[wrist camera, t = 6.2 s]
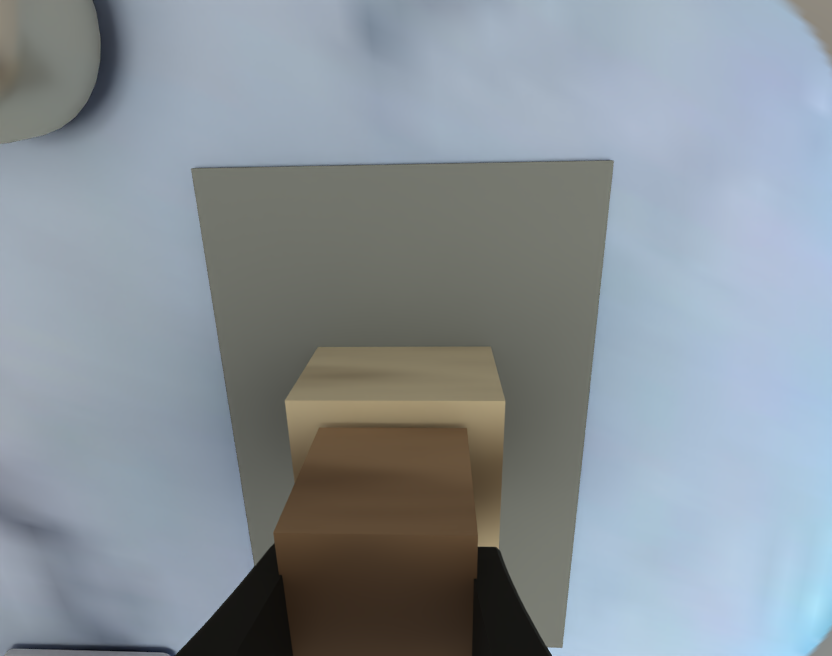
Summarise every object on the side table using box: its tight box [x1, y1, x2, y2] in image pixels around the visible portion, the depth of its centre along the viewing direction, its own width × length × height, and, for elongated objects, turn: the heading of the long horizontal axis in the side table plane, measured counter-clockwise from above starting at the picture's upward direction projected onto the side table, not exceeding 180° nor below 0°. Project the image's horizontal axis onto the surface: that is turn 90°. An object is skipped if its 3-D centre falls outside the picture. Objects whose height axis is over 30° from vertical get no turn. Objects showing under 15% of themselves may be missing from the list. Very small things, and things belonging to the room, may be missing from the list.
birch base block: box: [285, 347, 505, 549], centre depth 16 cm, size 6×6×4 cm
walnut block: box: [273, 427, 478, 656], centre depth 12 cm, size 4×4×4 cm
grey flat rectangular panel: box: [191, 160, 614, 648], centre depth 19 cm, size 20×13×1 cm, turn 1°
